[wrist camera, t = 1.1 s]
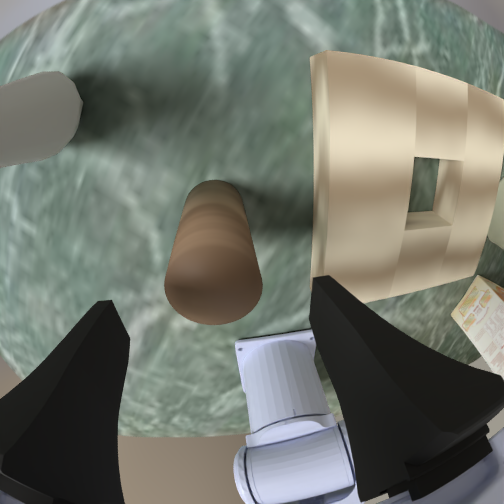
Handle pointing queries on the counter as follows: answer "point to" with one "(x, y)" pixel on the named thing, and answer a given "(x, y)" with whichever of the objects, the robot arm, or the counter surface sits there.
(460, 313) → the coffeecake box
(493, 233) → the can
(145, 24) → the counter surface
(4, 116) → the salt shaker
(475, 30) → the counter surface
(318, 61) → the socket block
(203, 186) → the peg
